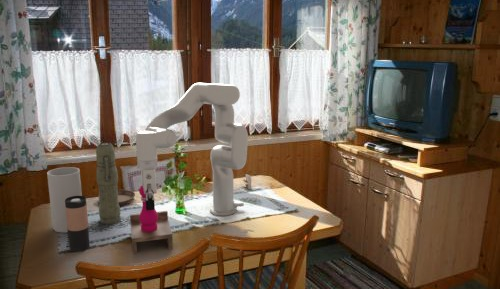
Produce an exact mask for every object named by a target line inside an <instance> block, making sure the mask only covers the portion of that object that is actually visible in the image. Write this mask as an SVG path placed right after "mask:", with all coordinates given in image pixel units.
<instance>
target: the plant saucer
mask: <svg viewBox="0 0 500 289" xmlns="http://www.w3.org/2000/svg"><path fill="white" fill-rule="evenodd" d="M135 196H136V193H135V192H134V191H132V190H128V189H127V190H126V189H118V203H119V206H123V205H127V204H129V203H130V202H132V201H133V200H134V198H135ZM98 200H99V196H98Z"/></svg>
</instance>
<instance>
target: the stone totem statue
mask: <svg viewBox="0 0 500 289" xmlns="http://www.w3.org/2000/svg"><path fill="white" fill-rule="evenodd" d="M95 156H96V164H97V165H96V171H95V174H96V184H97V187H98V197H99V199H98V201H99V207H98V212H99V221H100V223H101V224H102V225H113V224H117V223H119V222H120V221H121V207H120V206H121V205H119V203H118V190H119V189H118V184H119V176H118V174H119V173H118V172H119V171H118V169H117V166H116V165H117V164H116V152H115V148H114V145H113V143H111V142H102V143H98V144H97V146H96V150H95Z"/></svg>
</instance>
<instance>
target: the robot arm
mask: <svg viewBox="0 0 500 289" xmlns="http://www.w3.org/2000/svg"><path fill="white" fill-rule="evenodd" d="M240 96H241V92H240V89H239V87H237V86H236V85H234V84H225V83H218V82H217V83H215V82H212V83H207V82H196V83H194V84H192V85H191V86H190V87H189V88H188V90H187V91H186V92H185V93H184V94H183V95H182V97H180V98H179V100H178V101H177V102H176V103H175V104H174V105H173V106H171V107H170V108H167V109H166V110H164V111H162V112H161V113H159V114H158V115H156V116H155V117H154V118H153V119H152V120H151V122H150V123H148V125H147V126H146V128H144V129H145V130H141V131H138V132H137V133H136V134H135V145H136V146H135V150H136V161H137V166H136V167H137V169H138V170H140V173H141V174H140V175H141V177H140V179H141V186H143V190H144V194H146V210H154V209H155V210H156V208H155V207H156V206H155V195H154V196H153V192H154V194H157V193H158V191H157V174H156V173H157V172H156V169H157V168H158V149H170V148H172V147H173V146H174V145H175V144H176V142H177V141H178V136H177V134H176V132H175V131H174V130H172V129H170V127H172V126H174V125H177V124H182V123H184V122H189V121H190V120H191V119H192V118H193V117H194V116H195V115H196V114H197V112H198V111H199V110H200V108H202V106H204V105H205V104H206V105H212V106H213V109H214V113H215V114H214V115H215V117H214V118H215V119H214V138H215V140H216V141H217V142H220V143H224V144H227V145H224V144H218V145H215V146H214V147H212V149H211V150H210V157H209V158H210V162H211V168H212V169H211V170H212V202H213V203H212V206H210V208H209V212H210V213H211V214H213V215H215V216H224V217H225V216H231V215H234V214H235V213H236V212H238V207H244V205H245V204H244V202H243V201H239V200H238V201H235V200H234V172H233V170H241V169H243V168H244V167H245V165H246V163H247V157H248V156H247V155H248V147H249V146H248V144H249V143H248V141H249V133H248V130H247V128H246V127H245V125H243V124H241V123H235V109H234V105H235V104H236V103H237V102H238V101H239V99H240ZM147 186H148V192H147ZM151 189H152V190H151ZM147 195H148V196H147Z"/></svg>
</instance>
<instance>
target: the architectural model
mask: <svg viewBox="0 0 500 289" xmlns="http://www.w3.org/2000/svg"><path fill="white" fill-rule="evenodd" d="M244 176H245V179H242V180H239V182H241V183H242V184H243V185H244V186H245V188H246V189H248V190H251V189H252V175H249V174H247V173H245V174H244Z"/></svg>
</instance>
